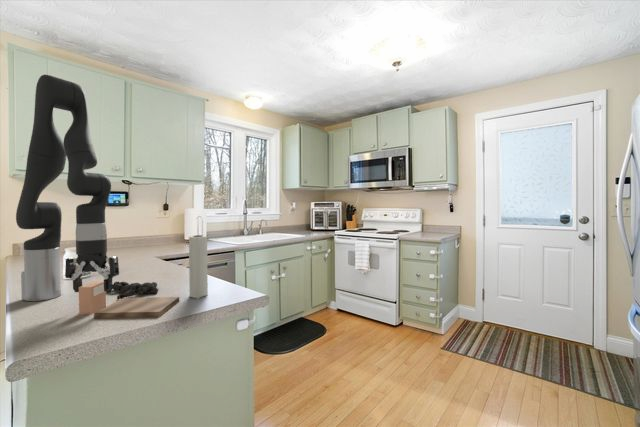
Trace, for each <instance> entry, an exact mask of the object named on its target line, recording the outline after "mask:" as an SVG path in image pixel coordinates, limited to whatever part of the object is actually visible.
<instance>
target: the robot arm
mask: <svg viewBox="0 0 640 427" xmlns="http://www.w3.org/2000/svg"><path fill="white" fill-rule="evenodd" d="M34 96H35V97H34V111H33V112H34V114H33V124H32V130H31V131H32V132H31V137H30V142H29V146H28V152H27V157H26V167H25V175H24V180H23V186H22V189H21V193H20V197H19V200H18V203H17V207H16V212H15V220H16V221H15V222H16V225H17V227H18V228H19V229H22V230H41V229H43V232H42V233H41V234H39V235H37V236H35V237H33V238H30V239H26V240H25V241H24V242H23V263H24V264H23V269H24V270H23V271H21V273H20V279H21V280H20V283H21V289H20V290H21V291H20V292H21V301H25V302H38V301H39V302H40V301H46V300H51V299H55V298H57V297H60V296H62V287H61V286H62V285H61V284H62V281H61V280H62V278H61V240H62V239H61V238H62V221H63V220H62V216H63V215H62V209H61V207H60V205H59V204H58V203H57V202H50V201H49V202H48V201H46V202H45V201H44V202H43V201H42V202H41V201H40V202H39V201H38V200H39V198H40V195H41V194H42V192H43V191H44V190H45V189H46V188H47V187H48V186H49V185H50V184H51V183H53V182H54V181H55V180H56V179H57V178H58V177H59V176H60V175H61V174H62V173H63V172H64V169H65V166H66V161H68V162H67V163H68V165H67V166H68V167H67V168H68V170H67V171H68V173H67V179H66V186H67V188H68V190H69V192H71V193H72V194H73V195H75V196H80V197H81V196H84V197H89V196H90V197H92V198H91V200H90V202H87V203H81V204H79V205H77V206H76V207H75V208H76V209H75V220H76V223H75V224H76V225H75V254H76V255H77V257H75V256H72V257H68V258H65V269H64V270H65V272H64V273H65V274H64V277H65V279H71V280H72V289H73V291H74V293H79V287H81V286H83V278H82V277H83V276H84V275H85V273H88V272H92V273H96V272H97V273H98V274H99V275H101V276H102V277H103V282H104V291H109V290H111V288H112V284H113V278H114V277H117V276H119V275H120V266H119V257H118V256H116V255H114V256H110V257H109V256H107V252H108V235H107V234H108V233H107V226H106V225H107V224H106V208H107V204H108V201H109V198H110V194H111V191H112V182H111V180H110V178H109V177H108V176H107V175H106V174H105V173H94V172H86V170H91V169H93V168H95V167H96V166H97V165H98V159H97V158H98V157H97V156H96V153H95V148H94V146H93V143H92V138H91V133H90V123H89V122H90V121H89V113H88V104H87V98H86V93H85V90H84V89H83V87H82V86H81V85H80V84H78V83H75V82H72V81H69V80H66V79H63V78H60V77H56V76H53V75H50V74H42V75H41V76H40V77H39V78H38V80H37V82H36V87H35V95H34ZM54 108H55V109H59V110H61V111H62V110H63V111H67V112H70V113H71V115H72V118H73V119H72V123H71V124H70V126H69V128H68V130H67V131H66V132H65V135H64V138H63V139H62V137H61V135H60V133H59V132H58V130H57V128H56V126H55V122H54V116H53V115H54ZM107 264H108V265H109V266H108V265H107ZM77 265H78V267H77V268H76V266H77ZM111 291H112V290H111Z"/></svg>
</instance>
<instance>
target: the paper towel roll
mask: <svg viewBox="0 0 640 427" xmlns="http://www.w3.org/2000/svg"><path fill="white" fill-rule="evenodd" d="M188 256H189V257H188V266H189V268H188V269H189V272H188V273H189V274H188V275H189V280H188V281H189V284H188V285H189V297H191V298H193V299H200V298H202V297H205V296H207V295H208V294H209V292H208V291H209V290H208V285H209V284H208V236H207V235H203V234H202V235H201V234H198V235H197V234H196V235H191V236H188Z"/></svg>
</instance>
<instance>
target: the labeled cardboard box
mask: <svg viewBox="0 0 640 427" xmlns="http://www.w3.org/2000/svg"><path fill="white" fill-rule="evenodd" d="M106 293H107V292H106V291H104V281H92V282H90V283H86V284H84V285H82V286H81V287H79V292H78V314H79V315H92V314H94V313H95V312H97V311H99V310H101V309H103V308H105V307H107V302H106V301H107V300H106V299H107V296H106Z"/></svg>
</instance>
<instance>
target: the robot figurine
mask: <svg viewBox="0 0 640 427" xmlns="http://www.w3.org/2000/svg"><path fill="white" fill-rule="evenodd" d="M157 287H158V283H157V282H155V281H153V282H144V283H139V282H132V283H129V282H127V281H114V282H113V283H112V288H111V290H109V291H106V293H111V292H112V291H118V293H120V294H119V295H117V296H116V299H117V300H120V299H122V298H131V297H133V296H135V295H136V294H147V293H150V294H151V295H157V294H158V292H159V288H157Z"/></svg>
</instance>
